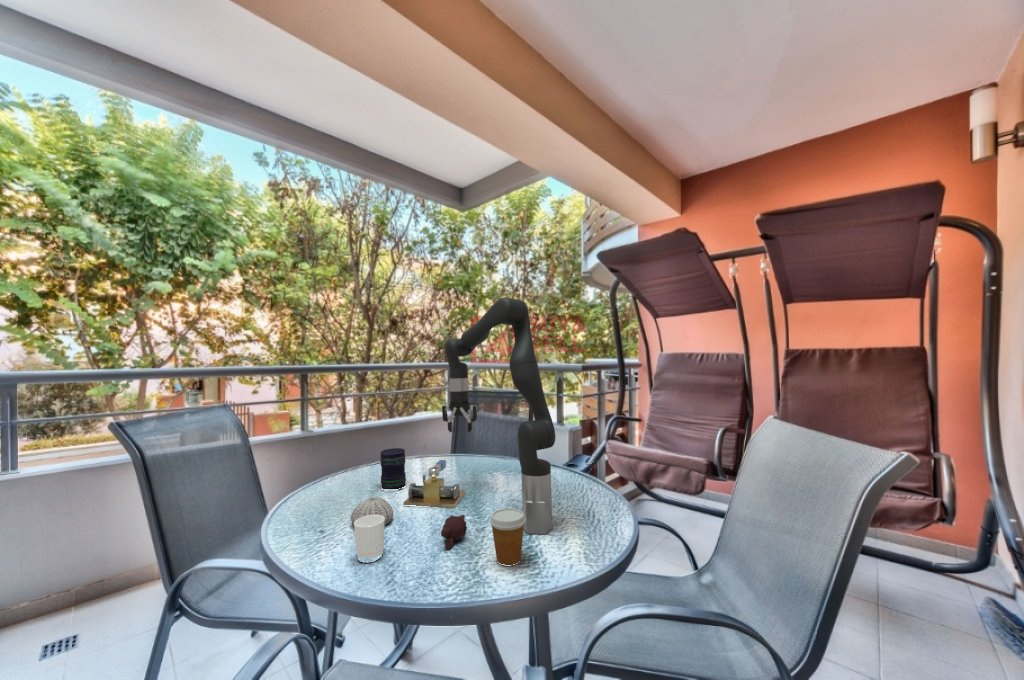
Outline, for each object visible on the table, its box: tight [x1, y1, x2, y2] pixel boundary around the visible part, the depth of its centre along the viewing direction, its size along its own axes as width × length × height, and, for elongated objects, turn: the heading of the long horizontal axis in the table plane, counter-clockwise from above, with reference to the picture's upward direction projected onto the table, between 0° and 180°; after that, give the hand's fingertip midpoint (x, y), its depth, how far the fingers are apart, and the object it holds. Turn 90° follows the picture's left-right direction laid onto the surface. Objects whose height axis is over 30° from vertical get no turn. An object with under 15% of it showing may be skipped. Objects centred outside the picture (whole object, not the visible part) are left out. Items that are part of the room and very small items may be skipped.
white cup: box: [353, 515, 386, 558], centre depth 111 cm, size 8×8×10 cm
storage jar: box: [379, 447, 407, 489], centre depth 167 cm, size 10×10×15 cm
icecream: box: [440, 514, 468, 550], centre depth 121 cm, size 7×7×15 cm
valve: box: [403, 473, 466, 509], centre depth 152 cm, size 14×19×10 cm
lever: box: [428, 459, 447, 478], centre depth 156 cm, size 13×4×3 cm, turn 172°
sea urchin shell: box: [350, 496, 395, 526], centre depth 133 cm, size 13×14×8 cm
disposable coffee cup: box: [489, 507, 526, 565], centre depth 108 cm, size 10×10×12 cm
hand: (460, 431), depth 159 cm, fingers open, 7 cm apart
